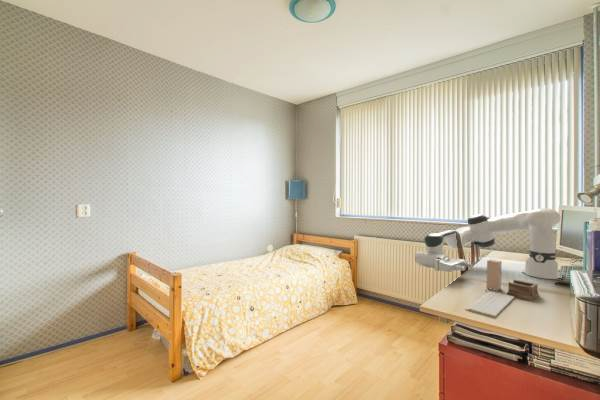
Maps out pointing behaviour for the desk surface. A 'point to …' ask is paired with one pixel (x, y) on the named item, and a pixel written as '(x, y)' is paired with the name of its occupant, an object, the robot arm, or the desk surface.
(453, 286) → the desk surface
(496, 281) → the clay strip
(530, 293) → the slotted wooden stand
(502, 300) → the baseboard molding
